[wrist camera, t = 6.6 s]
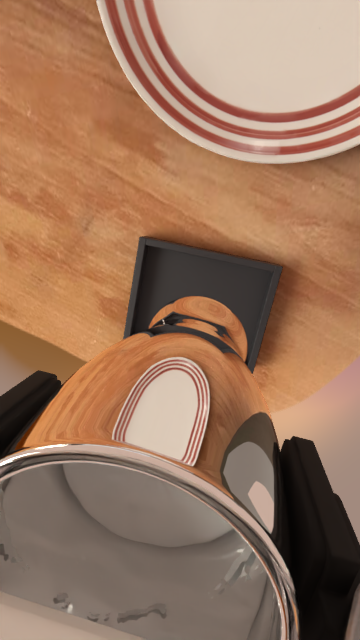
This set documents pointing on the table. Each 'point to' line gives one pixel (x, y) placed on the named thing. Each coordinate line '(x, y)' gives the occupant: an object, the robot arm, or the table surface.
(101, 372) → the beer glass
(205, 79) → the dinner plate
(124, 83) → the table surface
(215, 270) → the tray
